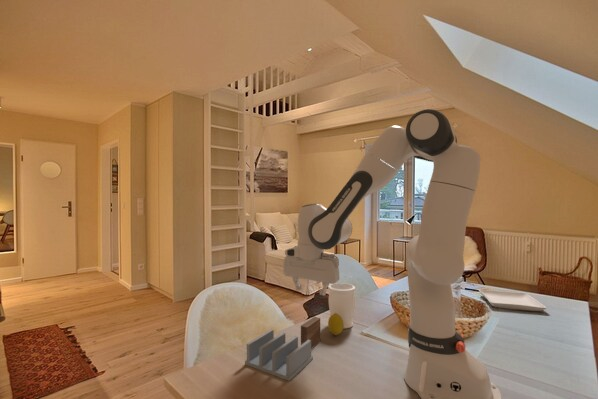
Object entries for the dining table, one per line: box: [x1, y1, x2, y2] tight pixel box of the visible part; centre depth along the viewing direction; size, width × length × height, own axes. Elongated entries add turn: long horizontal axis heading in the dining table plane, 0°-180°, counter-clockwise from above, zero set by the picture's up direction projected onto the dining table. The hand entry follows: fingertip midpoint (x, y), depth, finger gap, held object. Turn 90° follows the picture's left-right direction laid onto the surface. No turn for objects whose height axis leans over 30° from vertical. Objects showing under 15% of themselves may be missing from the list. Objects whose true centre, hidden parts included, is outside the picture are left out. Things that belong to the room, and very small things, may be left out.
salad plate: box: [478, 289, 547, 312], centre depth 140 cm, size 21×21×3 cm
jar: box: [327, 282, 357, 330], centre depth 118 cm, size 11×10×15 cm
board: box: [300, 316, 321, 349], centre depth 101 cm, size 2×9×8 cm, turn 148°
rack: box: [244, 328, 314, 382], centre depth 91 cm, size 16×13×6 cm
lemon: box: [327, 313, 344, 336], centre depth 109 cm, size 6×6×8 cm
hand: (310, 292), depth 102 cm, fingers open, 8 cm apart
